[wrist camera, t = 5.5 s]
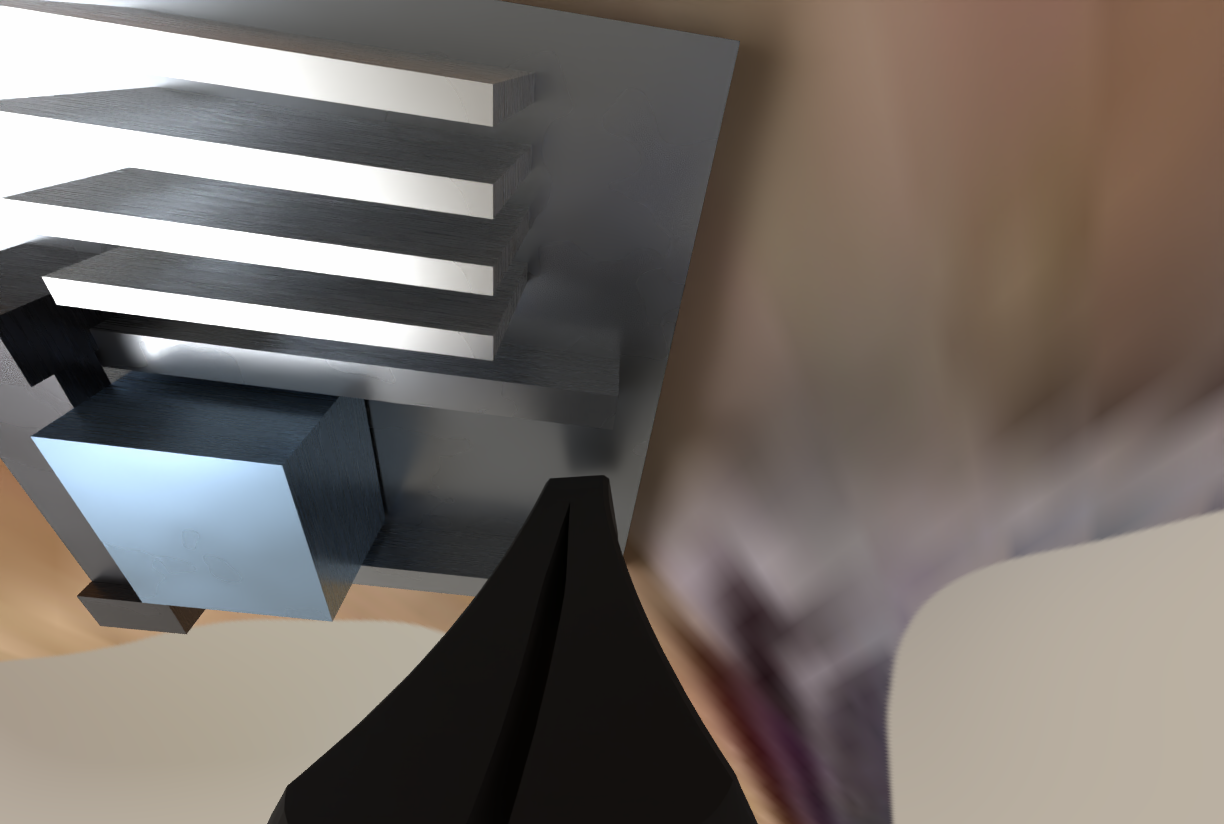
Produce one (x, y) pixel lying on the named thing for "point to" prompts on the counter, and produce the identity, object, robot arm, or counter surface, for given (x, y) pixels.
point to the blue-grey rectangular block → (223, 490)
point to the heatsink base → (356, 242)
